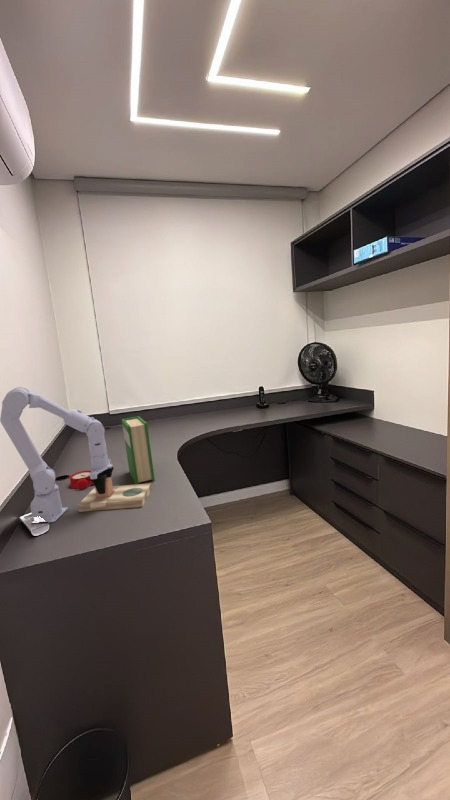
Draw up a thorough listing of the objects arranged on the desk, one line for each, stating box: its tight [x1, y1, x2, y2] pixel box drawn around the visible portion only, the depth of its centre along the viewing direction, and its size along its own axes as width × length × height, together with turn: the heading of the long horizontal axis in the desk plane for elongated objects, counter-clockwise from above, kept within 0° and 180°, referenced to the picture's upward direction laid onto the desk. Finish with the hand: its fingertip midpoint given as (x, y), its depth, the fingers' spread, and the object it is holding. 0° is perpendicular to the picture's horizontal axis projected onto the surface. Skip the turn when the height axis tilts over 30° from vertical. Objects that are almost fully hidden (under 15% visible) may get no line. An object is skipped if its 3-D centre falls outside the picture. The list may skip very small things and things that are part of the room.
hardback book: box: [121, 415, 156, 485], centre depth 144 cm, size 18×7×24 cm, turn 24°
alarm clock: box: [66, 470, 95, 490], centre depth 143 cm, size 10×6×15 cm
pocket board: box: [77, 482, 153, 513], centre depth 124 cm, size 14×22×3 cm, turn 89°
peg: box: [94, 476, 114, 498], centre depth 124 cm, size 4×4×8 cm
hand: (104, 490), depth 124 cm, fingers closed on peg, 4 cm apart
